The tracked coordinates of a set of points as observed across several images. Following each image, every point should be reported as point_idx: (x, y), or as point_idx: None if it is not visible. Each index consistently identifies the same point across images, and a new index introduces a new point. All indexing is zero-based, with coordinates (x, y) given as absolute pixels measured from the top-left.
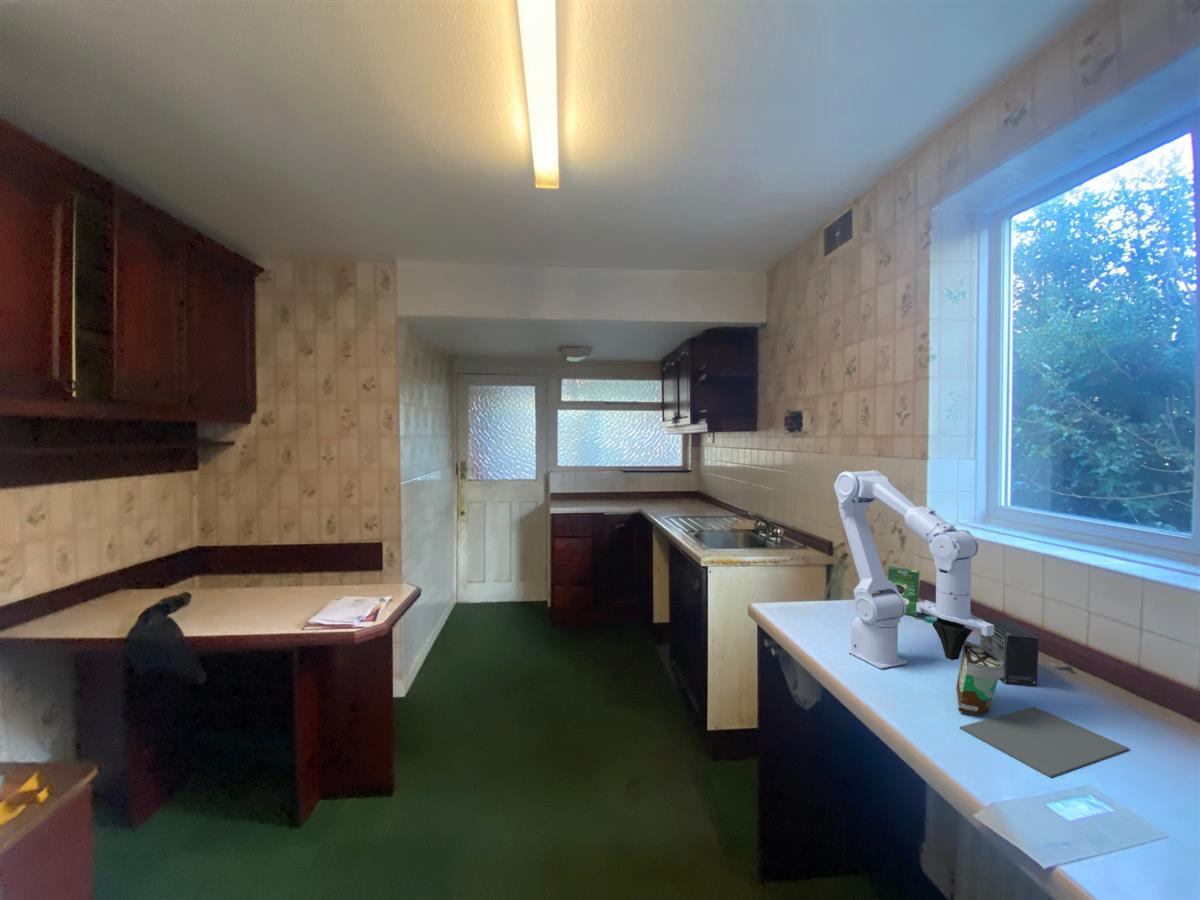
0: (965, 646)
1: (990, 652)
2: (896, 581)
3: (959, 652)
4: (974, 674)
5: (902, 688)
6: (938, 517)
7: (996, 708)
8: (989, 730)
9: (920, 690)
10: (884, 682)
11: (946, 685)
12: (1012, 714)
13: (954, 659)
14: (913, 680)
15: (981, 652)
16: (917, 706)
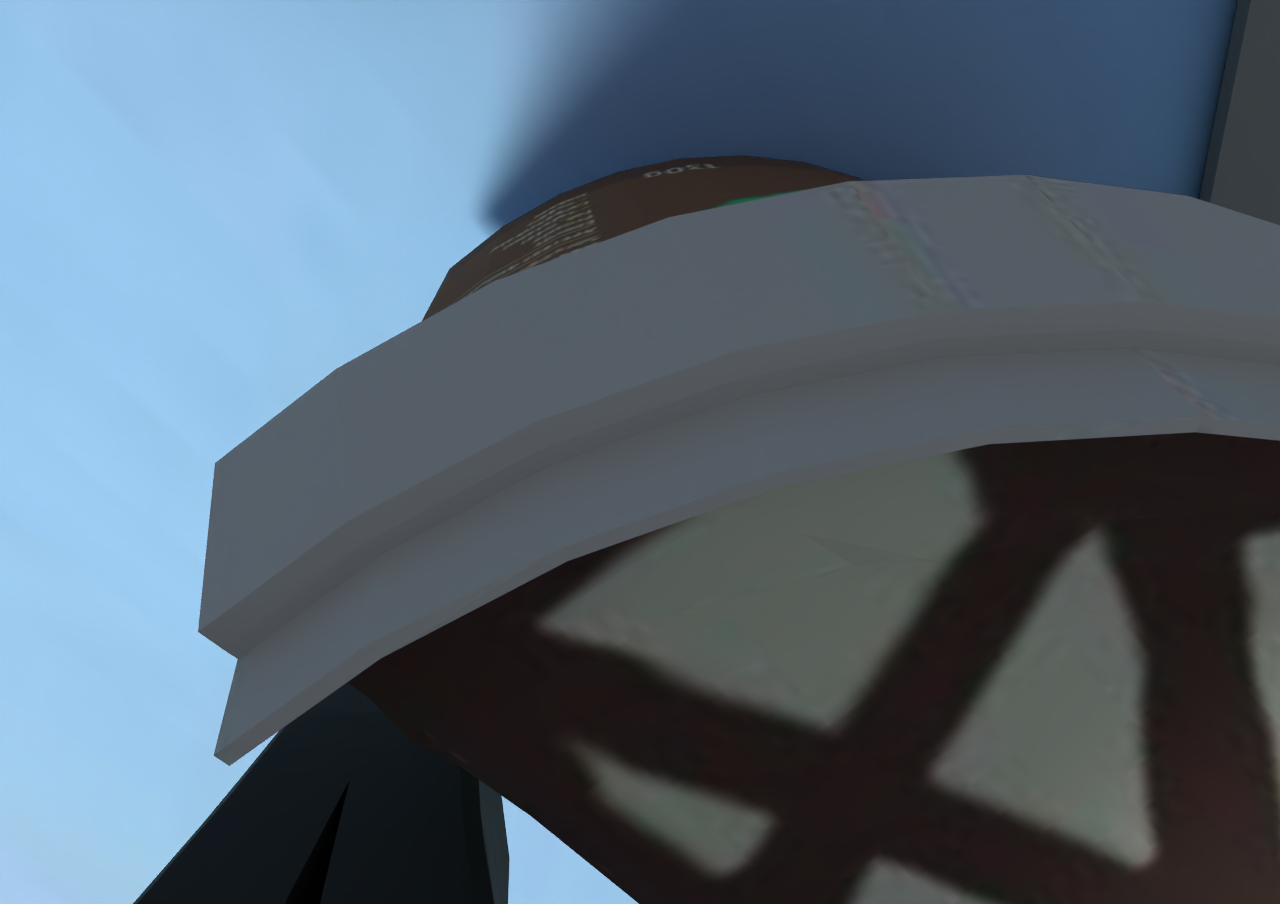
0: (433, 738)
1: (1260, 436)
2: None
3: (484, 827)
4: None
5: (208, 762)
6: None
7: (1018, 118)
8: None
9: None
10: (34, 825)
11: (223, 171)
12: (1271, 127)
13: (498, 809)
14: (7, 492)
15: (943, 542)
16: (600, 898)
